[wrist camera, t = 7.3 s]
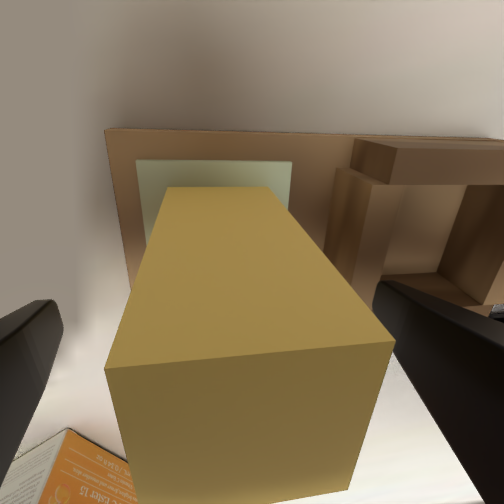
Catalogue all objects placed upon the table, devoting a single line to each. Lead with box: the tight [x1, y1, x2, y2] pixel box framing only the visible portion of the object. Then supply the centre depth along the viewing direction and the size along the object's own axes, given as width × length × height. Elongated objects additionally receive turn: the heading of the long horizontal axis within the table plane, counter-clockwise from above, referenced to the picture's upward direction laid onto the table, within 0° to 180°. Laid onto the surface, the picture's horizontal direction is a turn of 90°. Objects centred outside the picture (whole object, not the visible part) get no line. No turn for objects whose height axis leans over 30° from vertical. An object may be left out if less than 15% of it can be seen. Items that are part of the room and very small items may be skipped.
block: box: [104, 187, 396, 504], centre depth 9 cm, size 4×4×9 cm
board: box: [104, 128, 504, 290], centre depth 14 cm, size 8×17×1 cm, turn 88°
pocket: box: [323, 138, 504, 317], centre depth 13 cm, size 8×8×3 cm
